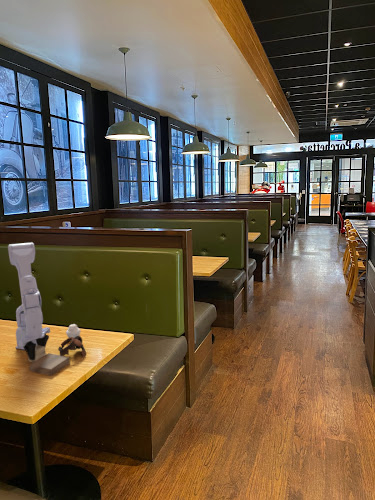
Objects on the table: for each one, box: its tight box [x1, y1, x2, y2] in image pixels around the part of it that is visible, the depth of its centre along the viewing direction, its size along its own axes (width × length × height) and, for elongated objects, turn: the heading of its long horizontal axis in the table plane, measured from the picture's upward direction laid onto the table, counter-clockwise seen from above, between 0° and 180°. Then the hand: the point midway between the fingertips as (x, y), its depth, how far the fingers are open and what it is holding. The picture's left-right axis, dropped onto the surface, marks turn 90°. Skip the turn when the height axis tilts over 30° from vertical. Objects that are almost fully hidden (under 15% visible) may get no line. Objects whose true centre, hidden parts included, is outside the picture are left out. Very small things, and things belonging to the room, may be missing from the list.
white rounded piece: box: [65, 323, 81, 339], centre depth 165 cm, size 6×6×7 cm
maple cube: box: [27, 345, 47, 363], centre depth 146 cm, size 4×4×5 cm
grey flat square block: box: [29, 352, 71, 377], centre depth 141 cm, size 10×10×3 cm
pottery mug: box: [57, 335, 87, 358], centre depth 151 cm, size 12×10×8 cm
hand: (37, 356), depth 147 cm, fingers closed on maple cube, 4 cm apart
